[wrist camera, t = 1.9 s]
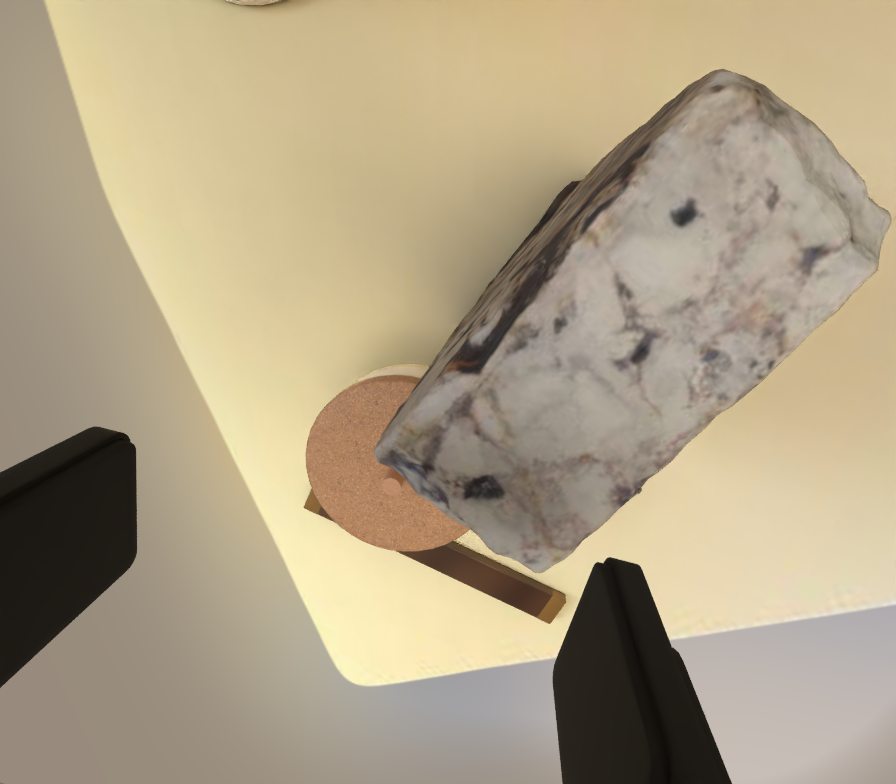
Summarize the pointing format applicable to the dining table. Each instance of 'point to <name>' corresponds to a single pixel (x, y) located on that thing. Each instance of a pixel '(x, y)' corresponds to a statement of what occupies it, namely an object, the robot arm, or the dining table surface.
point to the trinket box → (372, 467)
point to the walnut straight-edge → (481, 575)
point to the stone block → (636, 318)
